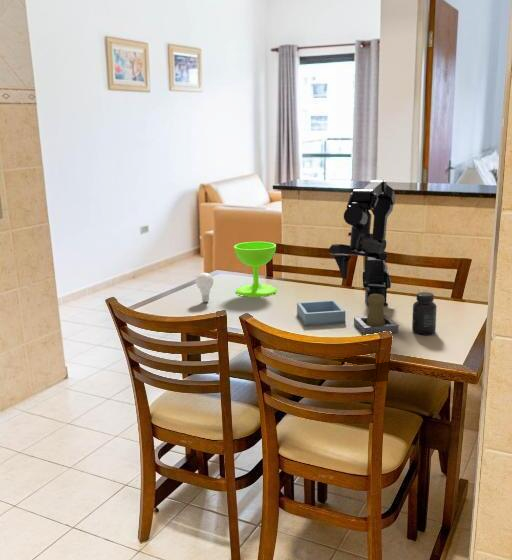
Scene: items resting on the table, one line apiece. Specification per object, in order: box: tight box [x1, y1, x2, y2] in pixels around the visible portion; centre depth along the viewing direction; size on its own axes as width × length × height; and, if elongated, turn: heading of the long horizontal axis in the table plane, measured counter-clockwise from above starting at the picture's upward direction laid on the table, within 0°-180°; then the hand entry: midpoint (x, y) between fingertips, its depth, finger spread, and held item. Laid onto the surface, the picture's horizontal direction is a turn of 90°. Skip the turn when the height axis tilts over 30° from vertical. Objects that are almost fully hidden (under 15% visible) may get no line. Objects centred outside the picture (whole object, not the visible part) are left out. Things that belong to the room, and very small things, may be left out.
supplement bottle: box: [411, 291, 438, 337], centre depth 184 cm, size 7×7×12 cm
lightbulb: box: [195, 272, 214, 303], centre depth 222 cm, size 6×6×11 cm
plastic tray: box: [296, 299, 346, 327], centre depth 200 cm, size 13×13×4 cm
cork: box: [366, 294, 385, 326], centre depth 188 cm, size 6×6×11 cm
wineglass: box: [233, 241, 278, 298], centre depth 233 cm, size 16×16×18 cm
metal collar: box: [353, 314, 399, 336], centre depth 189 cm, size 11×11×2 cm
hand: (356, 280), depth 188 cm, fingers open, 9 cm apart
